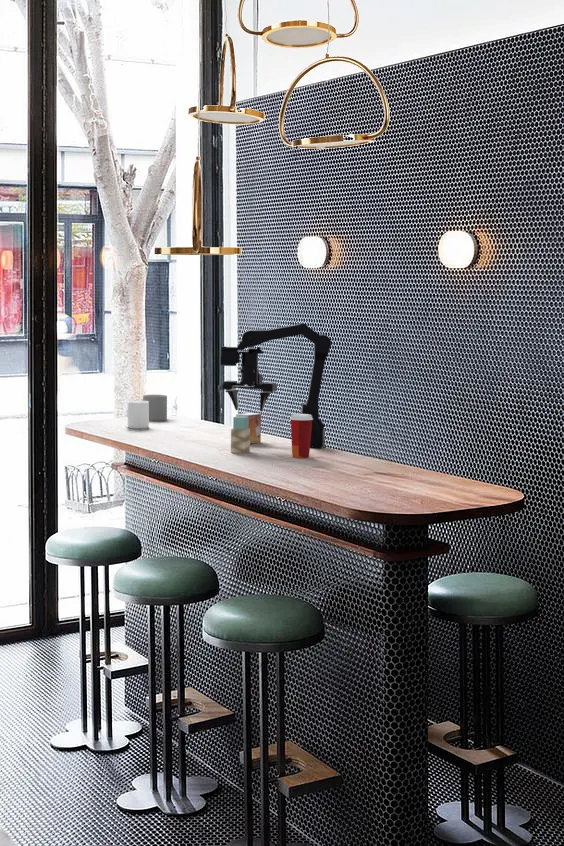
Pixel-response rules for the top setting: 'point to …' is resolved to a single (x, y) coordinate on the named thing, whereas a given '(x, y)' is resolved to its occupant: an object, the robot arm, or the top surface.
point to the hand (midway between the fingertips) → (249, 410)
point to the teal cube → (240, 422)
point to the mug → (138, 414)
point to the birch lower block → (240, 447)
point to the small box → (254, 426)
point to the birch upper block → (240, 435)
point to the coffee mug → (156, 407)
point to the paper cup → (301, 434)
